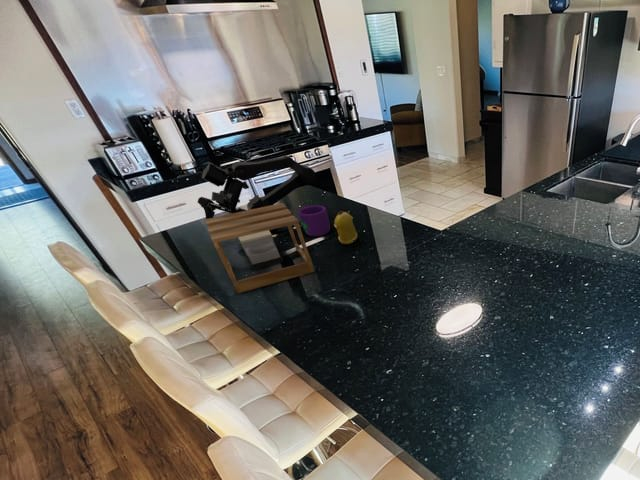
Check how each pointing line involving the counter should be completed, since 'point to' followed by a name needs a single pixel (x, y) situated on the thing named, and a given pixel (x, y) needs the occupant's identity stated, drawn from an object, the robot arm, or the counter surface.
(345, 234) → the yellow rounded lump
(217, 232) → the shoe rack
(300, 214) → the mug
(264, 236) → the grey lidded shoebox
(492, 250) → the counter surface
